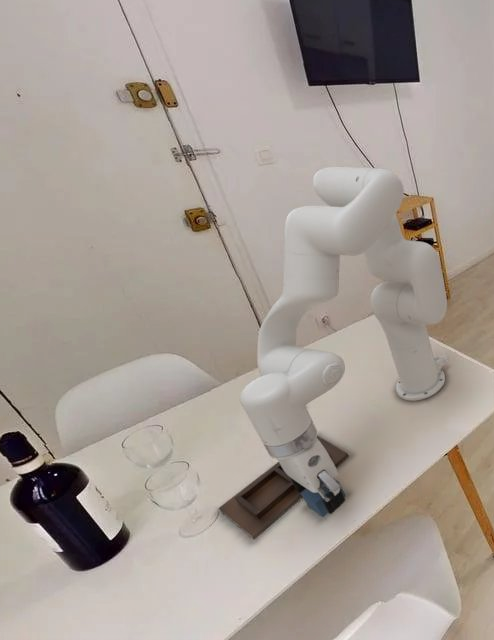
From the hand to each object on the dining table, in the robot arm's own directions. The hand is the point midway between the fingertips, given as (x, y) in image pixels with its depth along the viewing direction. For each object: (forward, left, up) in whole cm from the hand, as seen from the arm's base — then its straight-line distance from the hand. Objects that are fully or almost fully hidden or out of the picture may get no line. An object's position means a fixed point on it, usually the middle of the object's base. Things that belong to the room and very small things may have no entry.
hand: (321, 496), depth 81 cm
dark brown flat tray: (0, -12, -2) cm, 12 cm away
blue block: (-1, 0, -3) cm, 2 cm away
